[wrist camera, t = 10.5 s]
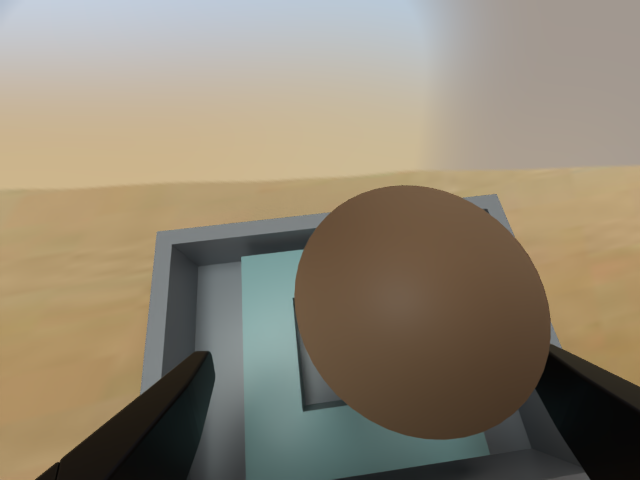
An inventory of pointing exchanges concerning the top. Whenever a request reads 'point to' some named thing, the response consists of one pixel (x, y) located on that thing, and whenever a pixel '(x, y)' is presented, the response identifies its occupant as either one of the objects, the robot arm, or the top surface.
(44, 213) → the top surface
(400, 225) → the peg
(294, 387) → the rim box
